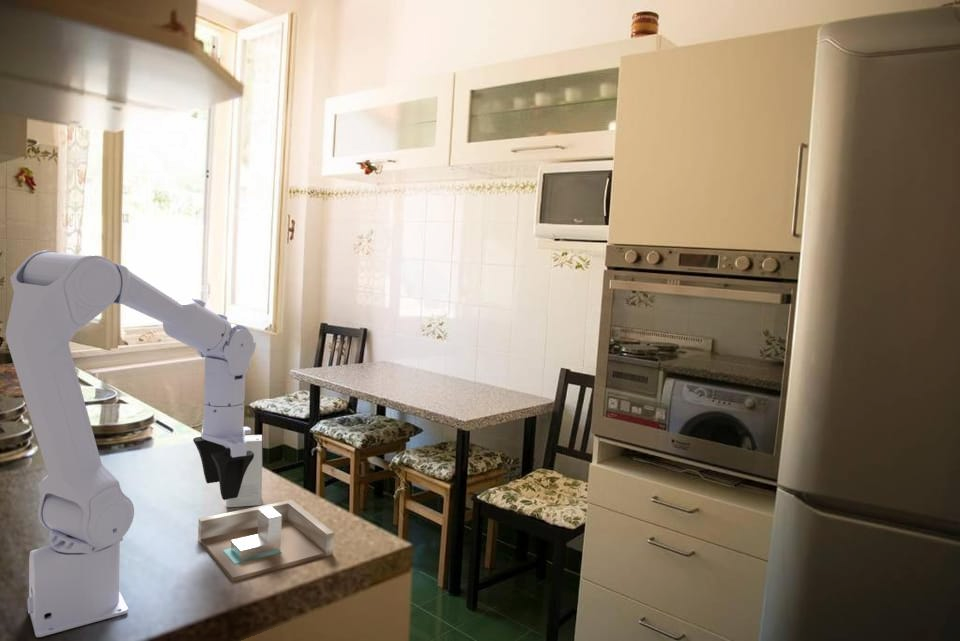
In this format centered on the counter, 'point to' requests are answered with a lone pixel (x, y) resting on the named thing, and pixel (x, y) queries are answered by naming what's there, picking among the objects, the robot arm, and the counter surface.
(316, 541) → the corner arena
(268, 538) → the aluminium bracket
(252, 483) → the skincare box
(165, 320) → the robot arm
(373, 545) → the counter surface
